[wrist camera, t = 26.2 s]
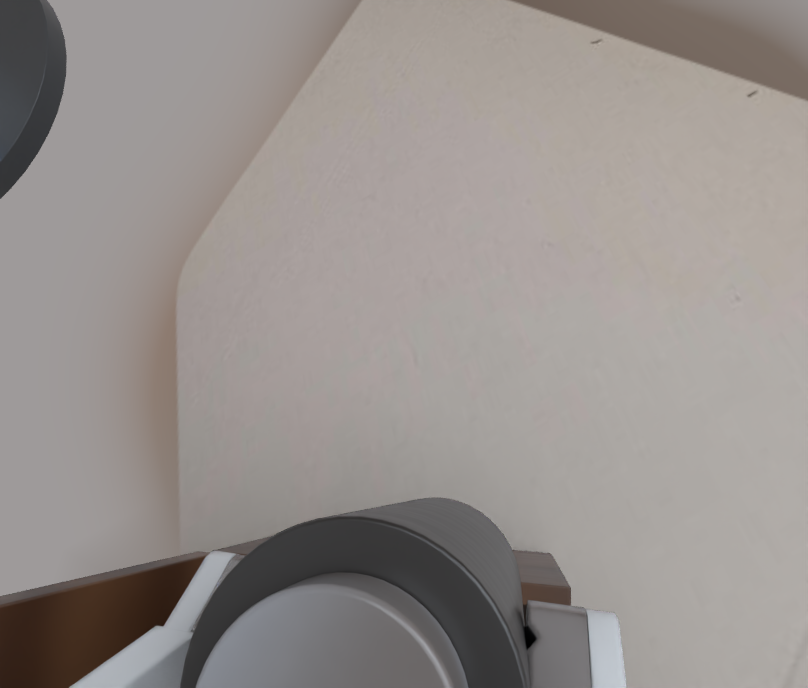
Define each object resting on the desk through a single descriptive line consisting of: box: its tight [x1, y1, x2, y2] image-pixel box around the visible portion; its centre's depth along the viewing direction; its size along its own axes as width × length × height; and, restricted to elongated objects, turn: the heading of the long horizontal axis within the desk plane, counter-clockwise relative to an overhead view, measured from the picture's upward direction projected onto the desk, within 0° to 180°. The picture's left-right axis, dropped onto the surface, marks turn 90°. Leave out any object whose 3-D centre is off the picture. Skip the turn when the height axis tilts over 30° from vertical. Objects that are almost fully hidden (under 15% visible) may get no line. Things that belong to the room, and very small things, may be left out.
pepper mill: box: [180, 498, 530, 688], centre depth 11 cm, size 5×5×10 cm
